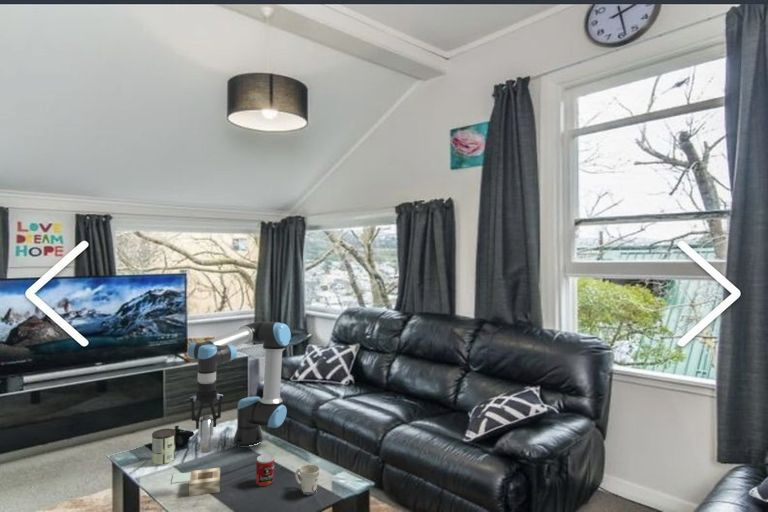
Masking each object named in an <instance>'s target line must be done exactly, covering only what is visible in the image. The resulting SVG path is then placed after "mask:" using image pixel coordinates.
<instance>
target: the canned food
mask: <svg viewBox="0 0 768 512" xmlns="http://www.w3.org/2000/svg"><path fill="white" fill-rule="evenodd" d="M255 463H256V464H255V465H256V467H255V468H256V473H255V475H256V476H255V478H256V480H255V483H256V484H258V486H259V485H261V486H260V487H263V486H264V487H266V486H265V485H268V484H271V483H272V482H273V483H274V480H275V456H274V455H273V454H270V453H266V454H265V453H264V454H260V455H259V456H257V457H256V462H255ZM273 483H272V484H273ZM272 484H271V485H272Z"/></svg>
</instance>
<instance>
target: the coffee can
mask: <svg viewBox="0 0 768 512" xmlns="http://www.w3.org/2000/svg"><path fill="white" fill-rule="evenodd" d="M174 429H175V428H169V427H168V428H161V429H158V430H155V431H153V432H152V433H151V442H152V443H151V465H152V466H155V467H163V466H164V467H165V466H168V465H170V464H173V463H174V462H175V461H176V445H175V432H176V431H175V430H174Z"/></svg>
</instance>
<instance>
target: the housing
mask: <svg viewBox="0 0 768 512" xmlns="http://www.w3.org/2000/svg"><path fill="white" fill-rule="evenodd" d="M190 472H191V476H190V481H189V486H188V487H189V488H188V496H189V497H192V496H200V495H206V494H214V493H220V490H221V489H220V485H221V467H214V468H206V469H205V468H204V469H199V470H198V469H197V470H196V469H195V470H191V471H190Z"/></svg>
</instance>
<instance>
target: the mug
mask: <svg viewBox="0 0 768 512" xmlns="http://www.w3.org/2000/svg"><path fill="white" fill-rule="evenodd" d="M298 474H299V477H300V479H299V477H298ZM319 475H320V467H319V466H318V465H316V464H305V465H303V466H301V467H300V468H298V469H296V471H295V473H294V476H295V480H296V482H297V484H299V485H301V492H302V491H303V492H313V491H315V490H316V489H318V482H319ZM316 491H317V490H316Z"/></svg>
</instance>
